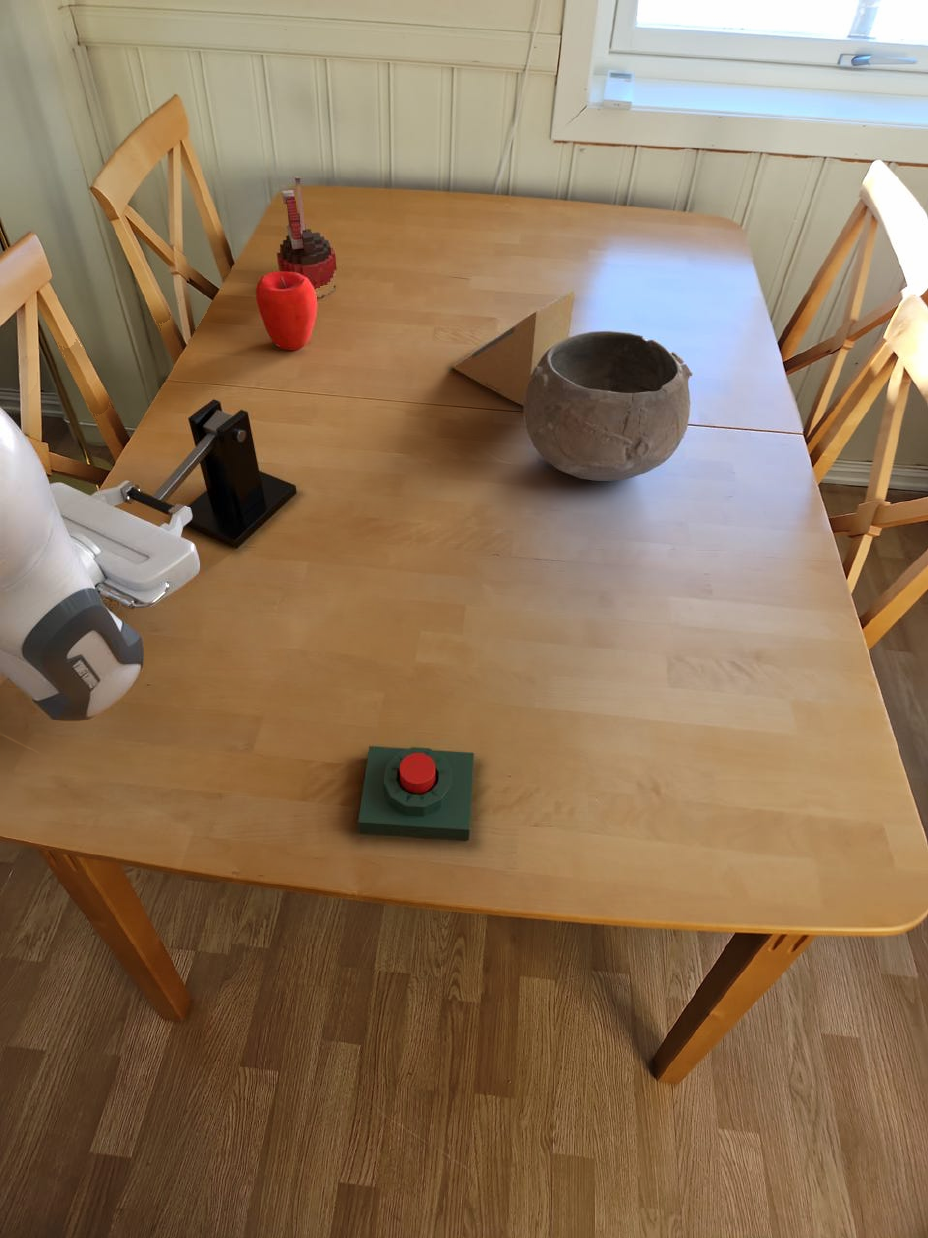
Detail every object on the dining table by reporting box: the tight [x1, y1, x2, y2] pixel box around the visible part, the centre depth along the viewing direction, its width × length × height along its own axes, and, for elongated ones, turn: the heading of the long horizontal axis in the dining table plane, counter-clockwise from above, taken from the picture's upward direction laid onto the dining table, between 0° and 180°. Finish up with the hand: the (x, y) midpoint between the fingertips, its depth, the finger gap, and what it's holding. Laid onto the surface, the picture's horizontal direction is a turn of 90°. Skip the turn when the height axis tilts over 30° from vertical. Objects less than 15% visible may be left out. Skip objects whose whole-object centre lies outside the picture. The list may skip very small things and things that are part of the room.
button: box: [400, 753, 435, 794], centre depth 74 cm, size 3×3×2 cm
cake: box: [276, 175, 339, 298], centre depth 134 cm, size 11×9×18 cm
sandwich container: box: [452, 290, 576, 407], centre depth 119 cm, size 9×15×15 cm, turn 47°
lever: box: [130, 410, 233, 517], centre depth 92 cm, size 14×6×2 cm, turn 151°
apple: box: [255, 270, 318, 351], centre depth 125 cm, size 9×9×11 cm
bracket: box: [184, 398, 298, 549], centre depth 98 cm, size 12×9×14 cm
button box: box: [357, 745, 475, 842], centre depth 76 cm, size 10×8×4 cm
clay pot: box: [523, 330, 693, 482], centre depth 107 cm, size 21×21×15 cm
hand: (160, 498), depth 90 cm, fingers closed on lever, 6 cm apart
